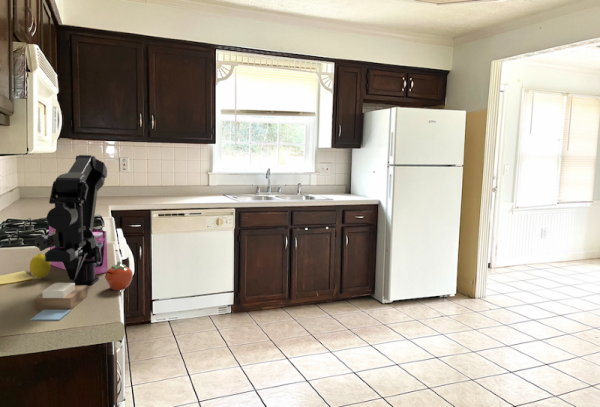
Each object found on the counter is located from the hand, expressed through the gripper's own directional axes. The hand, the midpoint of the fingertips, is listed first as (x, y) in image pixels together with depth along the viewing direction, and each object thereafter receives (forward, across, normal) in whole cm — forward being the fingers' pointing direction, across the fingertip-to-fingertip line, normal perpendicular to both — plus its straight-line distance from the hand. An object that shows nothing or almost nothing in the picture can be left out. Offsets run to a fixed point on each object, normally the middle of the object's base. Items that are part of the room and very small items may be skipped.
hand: (72, 279), depth 125 cm
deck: (+4, +7, 0) cm, 8 cm away
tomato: (+4, -6, +10) cm, 13 cm away
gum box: (+4, -28, -9) cm, 30 cm away
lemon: (+4, -15, -16) cm, 22 cm away
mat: (+4, +16, +1) cm, 16 cm away
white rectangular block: (+1, +8, 0) cm, 8 cm away
